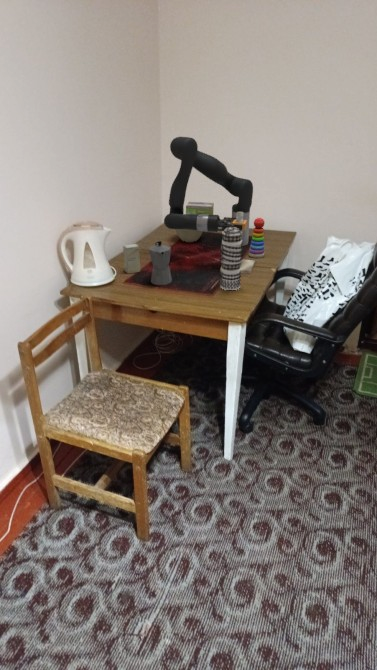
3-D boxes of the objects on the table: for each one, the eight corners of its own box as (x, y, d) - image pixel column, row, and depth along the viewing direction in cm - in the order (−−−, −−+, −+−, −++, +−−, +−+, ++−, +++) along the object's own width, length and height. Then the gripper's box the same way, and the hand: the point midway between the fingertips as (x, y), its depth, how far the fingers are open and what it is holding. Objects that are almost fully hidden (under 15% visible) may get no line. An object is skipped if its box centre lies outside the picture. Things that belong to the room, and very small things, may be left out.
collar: (232, 229, 202) (232, 222, 200) (234, 226, 206) (234, 219, 205) (244, 230, 200) (244, 223, 199) (246, 226, 205) (246, 220, 204)
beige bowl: (185, 233, 261) (185, 212, 255) (212, 238, 252) (212, 216, 246) (166, 241, 248) (165, 219, 242) (193, 247, 239) (193, 224, 233)
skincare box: (128, 274, 207) (126, 248, 201) (124, 270, 211) (122, 245, 205) (141, 271, 210) (139, 245, 204) (137, 268, 213) (135, 243, 207)
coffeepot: (175, 286, 194) (173, 245, 185) (153, 288, 192) (151, 247, 184) (168, 273, 207) (166, 234, 199) (147, 275, 205) (145, 236, 197)
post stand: (219, 271, 208) (221, 215, 196) (226, 261, 220) (227, 207, 208) (250, 274, 205) (253, 217, 192) (254, 263, 217) (258, 209, 204)
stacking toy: (264, 258, 222) (266, 220, 213) (247, 258, 224) (249, 220, 214) (265, 253, 229) (267, 216, 220) (249, 252, 230) (251, 215, 221)
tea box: (185, 231, 265) (185, 205, 258) (188, 226, 274) (188, 201, 267) (211, 232, 263) (211, 206, 256) (213, 227, 272) (213, 202, 264)
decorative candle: (244, 289, 190) (247, 230, 177) (223, 292, 187) (225, 233, 175) (236, 281, 197) (238, 224, 185) (216, 284, 195) (217, 226, 183)
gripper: (204, 218, 198) (241, 220, 194) (211, 210, 210) (246, 212, 206) (204, 235, 202) (240, 238, 198) (211, 226, 214) (246, 229, 210)
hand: (243, 225), depth 202 cm, fingers open, 8 cm apart
